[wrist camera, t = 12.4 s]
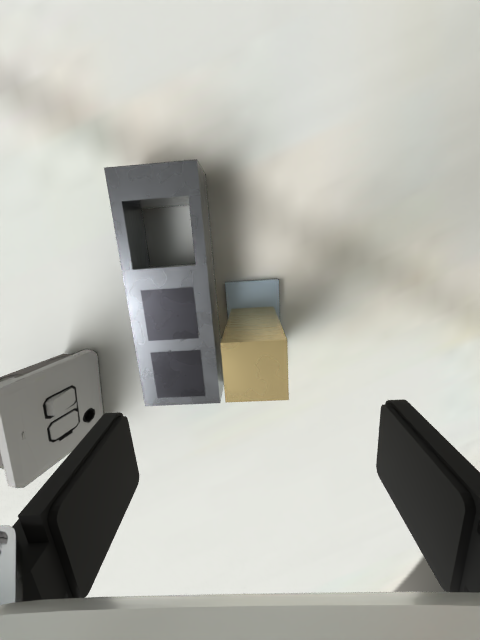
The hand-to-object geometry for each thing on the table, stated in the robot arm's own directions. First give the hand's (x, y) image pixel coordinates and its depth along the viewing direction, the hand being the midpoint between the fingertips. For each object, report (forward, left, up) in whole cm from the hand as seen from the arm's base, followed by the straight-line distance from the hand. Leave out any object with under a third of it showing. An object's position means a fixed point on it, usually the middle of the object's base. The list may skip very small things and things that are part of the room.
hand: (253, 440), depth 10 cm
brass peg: (+1, 0, -17) cm, 17 cm away
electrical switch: (+7, -19, -18) cm, 27 cm away
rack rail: (-3, -7, -18) cm, 19 cm away
